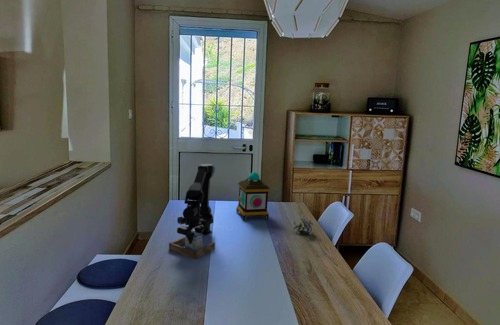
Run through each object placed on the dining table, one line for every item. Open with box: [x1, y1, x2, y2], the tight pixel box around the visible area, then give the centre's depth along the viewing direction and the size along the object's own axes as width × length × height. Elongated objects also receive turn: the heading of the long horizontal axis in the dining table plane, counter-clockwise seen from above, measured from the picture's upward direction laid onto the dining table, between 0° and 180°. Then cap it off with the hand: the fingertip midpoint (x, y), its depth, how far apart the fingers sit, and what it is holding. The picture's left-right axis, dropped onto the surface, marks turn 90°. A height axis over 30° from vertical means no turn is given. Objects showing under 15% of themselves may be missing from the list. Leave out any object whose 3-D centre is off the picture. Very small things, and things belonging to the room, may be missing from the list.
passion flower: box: [293, 217, 314, 236], centre depth 214 cm, size 11×11×12 cm
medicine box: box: [184, 230, 203, 251], centre depth 184 cm, size 8×4×9 cm, turn 58°
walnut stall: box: [168, 236, 216, 260], centre depth 184 cm, size 16×17×4 cm
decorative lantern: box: [235, 171, 271, 221], centre depth 238 cm, size 20×20×30 cm
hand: (193, 242), depth 184 cm, fingers closed on medicine box, 4 cm apart
